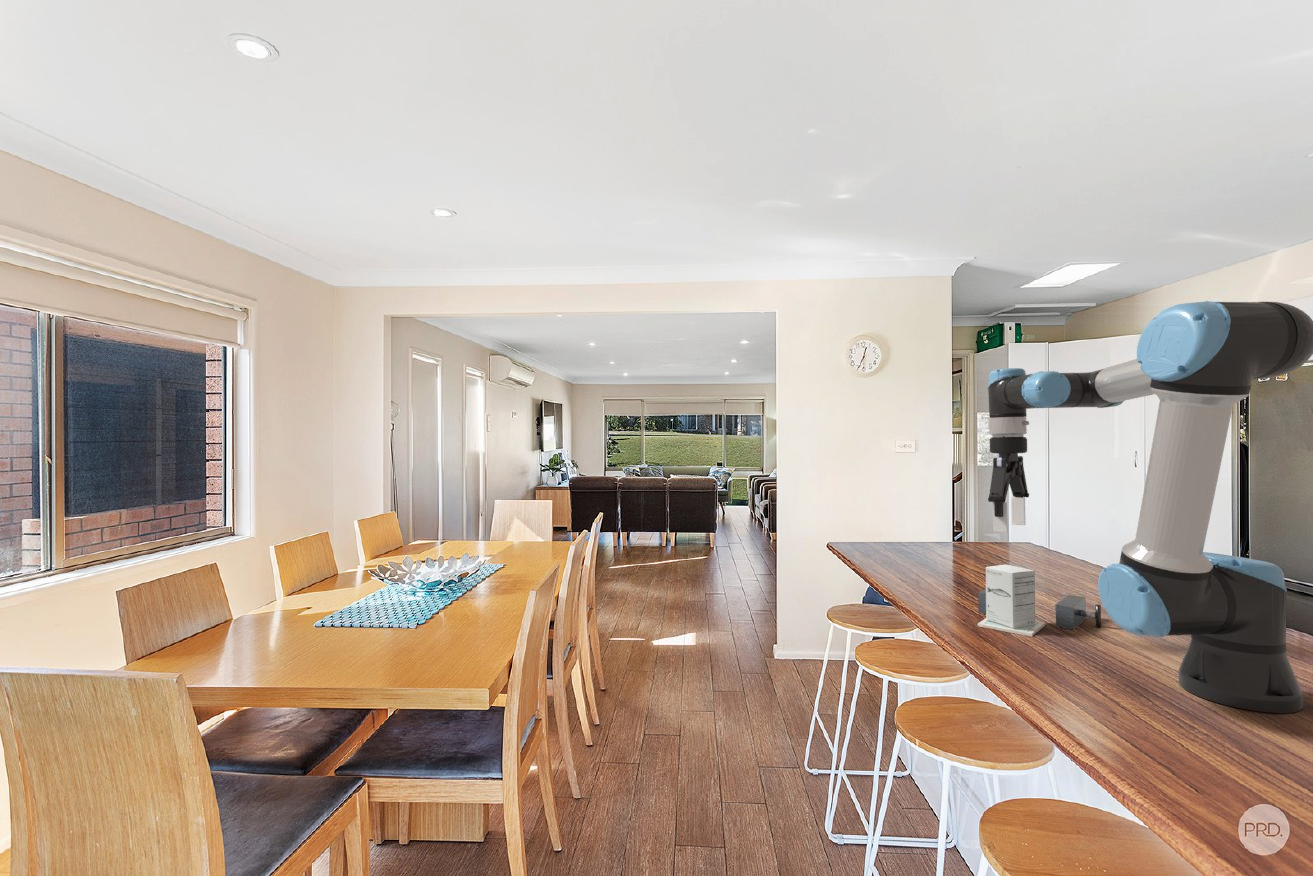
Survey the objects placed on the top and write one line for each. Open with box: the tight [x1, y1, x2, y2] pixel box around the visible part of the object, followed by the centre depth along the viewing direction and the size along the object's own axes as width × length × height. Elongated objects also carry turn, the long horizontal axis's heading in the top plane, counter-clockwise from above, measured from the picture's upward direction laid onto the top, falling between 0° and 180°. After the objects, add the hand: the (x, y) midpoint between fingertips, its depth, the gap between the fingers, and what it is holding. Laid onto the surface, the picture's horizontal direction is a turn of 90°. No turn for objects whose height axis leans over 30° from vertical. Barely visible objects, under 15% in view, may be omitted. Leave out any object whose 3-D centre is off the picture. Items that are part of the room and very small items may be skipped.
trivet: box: [977, 617, 1046, 637], centre depth 142 cm, size 11×11×1 cm
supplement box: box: [985, 564, 1036, 628], centre depth 141 cm, size 7×7×13 cm
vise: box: [977, 588, 1102, 631], centre depth 148 cm, size 12×24×5 cm, turn 45°
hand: (1009, 528), depth 142 cm, fingers open, 13 cm apart
